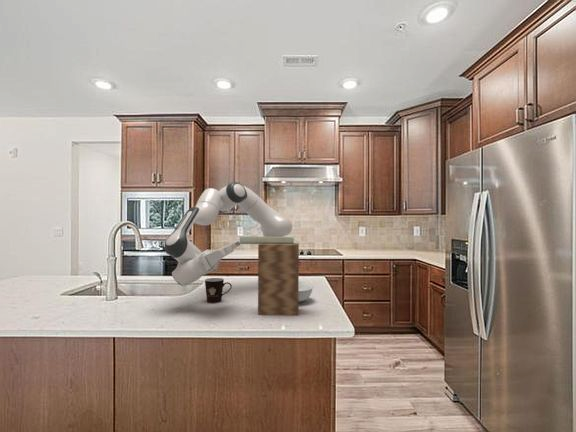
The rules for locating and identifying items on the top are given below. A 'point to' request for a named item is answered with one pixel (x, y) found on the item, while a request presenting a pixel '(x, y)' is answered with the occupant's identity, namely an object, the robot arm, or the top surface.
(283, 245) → the stand
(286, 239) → the pale green bar
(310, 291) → the serving bowl
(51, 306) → the top surface
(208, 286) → the coffee mug
